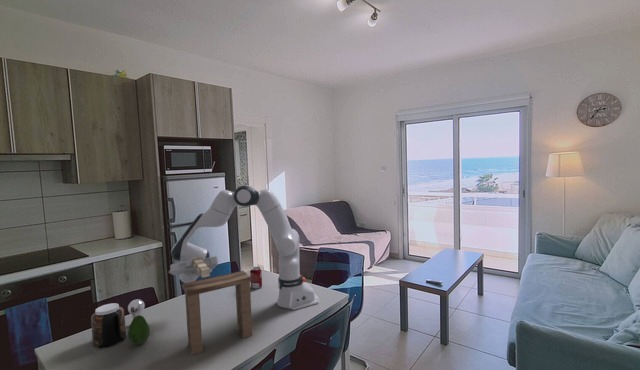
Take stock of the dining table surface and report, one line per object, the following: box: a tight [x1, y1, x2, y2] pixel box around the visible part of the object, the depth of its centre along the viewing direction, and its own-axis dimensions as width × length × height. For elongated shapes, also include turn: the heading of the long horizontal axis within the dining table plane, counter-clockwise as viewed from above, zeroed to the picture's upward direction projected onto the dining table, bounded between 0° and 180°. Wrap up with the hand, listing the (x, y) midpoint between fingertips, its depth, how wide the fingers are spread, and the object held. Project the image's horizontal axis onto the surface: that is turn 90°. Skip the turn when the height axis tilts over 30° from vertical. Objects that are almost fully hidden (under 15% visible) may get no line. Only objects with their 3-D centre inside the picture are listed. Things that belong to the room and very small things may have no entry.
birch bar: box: [192, 256, 211, 279], centre depth 132 cm, size 20×3×3 cm, turn 33°
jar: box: [90, 302, 127, 349], centre depth 136 cm, size 12×12×15 cm
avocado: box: [127, 315, 151, 345], centre depth 134 cm, size 8×8×12 cm
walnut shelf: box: [182, 270, 253, 356], centre depth 134 cm, size 10×26×26 cm, turn 123°
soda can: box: [249, 266, 263, 290], centre depth 191 cm, size 7×7×12 cm
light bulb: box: [127, 298, 146, 320], centre depth 150 cm, size 7×7×12 cm
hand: (196, 260), depth 138 cm, fingers closed on birch bar, 3 cm apart
